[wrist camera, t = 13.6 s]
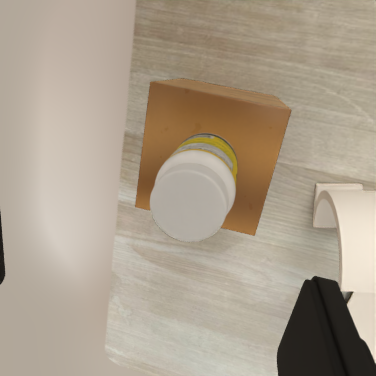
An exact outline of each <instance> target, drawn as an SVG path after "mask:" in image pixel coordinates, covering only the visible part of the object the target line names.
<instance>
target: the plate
mask: <svg viewBox="0 0 376 376" xmlns="http://www.w3.org/2000/svg"><path fill="white" fill-rule="evenodd" d="M347 307H348V309H349V312H350V314H351V316H352V319H353V321H354V324H355V326H356V328H357V331H358V333H359V336H360V338H362V339H363V340H364V341H365V342H366V344H367V345H368V347H369V349H370V352H371V354H372V356H373V359H374V361H375V363H376V293H366V292H352V294H351V296H350V298H349V300H348V302H347Z"/></svg>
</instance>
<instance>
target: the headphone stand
mask: <svg viewBox="0 0 376 376" xmlns="http://www.w3.org/2000/svg"><path fill="white" fill-rule="evenodd" d="M313 226H314V227H325V228H337V234H338V244H339V281H338V285H339V287H340V290H341V291H349V292H366V293H376V191H363V186H362V185H361V184H320V183H316V187H315V199H314V212H313Z"/></svg>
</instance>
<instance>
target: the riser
mask: <svg viewBox="0 0 376 376" xmlns="http://www.w3.org/2000/svg"><path fill="white" fill-rule="evenodd" d="M290 113H291V109H290V108H289V107H288V106H286V105H285V104H284V103H283V102H282V101H281V100H280V99H279V98H277V97H276V96H272V95H267V94H262V93H257V92H251V91H246V90H241V89H236V88H231V87H226V86H220V85H215V84H210V83H205V82H200V81H195V80H189V79H184V78H181V79H172V80H163V81H154V82H150V88H149V96H148V105H147V113H146V121H145V129H144V138H143V146H142V154H141V162H140V171H139V179H138V187H137V195H136V204H135V207H137V208H142V209H146V210H150V196H151V192H152V190H153V188H154V186H155V180H156V177H157V174H158V172H159V170H160V168H161V167H162V165H163V164H164V163H165V161H166V160H167V159H168V158H169V157H170V156H171V155H172V154H173V153H174V151H175V150H176V149H177V148H178V147H179V146H180V144H181V143H182V142H183V141H185V140H186V139H187V138H189V137H190V136H193V135H195V134H199V133H211V134H215V135H218V136H220V137H222V138H224V139H225V140H226V141H227V142H228V143H229V144H230V145H231V146H232V147H233V149H234V151H235V153H236V156H237V162H238V168H237V182H236V194H235V200H234V203H233V205H232V208H231V209H230V211H229V213H228V214H227V215H226V218H225V220H224V222H223V225H222V226H221V228H225V229H229V230H233V231H237V232H241V233H245V234H250V235H255V233H256V229H257V226H258V223H259V219H260V216H261V212H262V209H263V206H264V202H265V199H266V195H267V192H268V188H269V185H270V182H271V178H272V175H273V171H274V168H275V165H276V161H277V158H278V154H279V151H280V148H281V144H282V141H283V137H284V134H285V130H286V127H287V124H288V120H289V117H290ZM150 211H151V210H150Z"/></svg>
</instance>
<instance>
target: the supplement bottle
mask: <svg viewBox="0 0 376 376" xmlns="http://www.w3.org/2000/svg"><path fill="white" fill-rule="evenodd" d="M237 168H238V162H237V156H236V153H235V151H234V149H233V147H232V146H231V145H230V144H229V143H228V142H227V141H226V140H225V139H224V138H222V137H220V136H218V135H215V134H211V133H199V134H195V135H193V136H190V137H189V138H187V139H186V140H185V141H183V142H182V143H181V144H180V146H179V147H178V148H177V149H176V150H175V151H174V153H173V154H172V155H171V156H170V157H169V158H168V159H167V160H166V161H165V163H164V164H163V165H162V167H161V168H160V170H159V172H158V174H157V177H156V180H155V186H154V188H153V190H152V192H151V196H150V210H151V214H152V217H153V219H154V221H155V223H156V224H157V226H158V227H159V228H160V229H161V230H162V231H163V232H164V233H165V234H167V235H168V236H170V237H172V238H174V239H176V240H179V241H183V242H198V241H202V240H205V239H207V238H209V237H211V236H212V235H214V234H215V233H216V232H217V231H218V230H219V229H220V228H221V226H222V225H223V222H224V220H225V218H226V215H227V214H228V213H229V211H230V209H231V208H232V205H233V203H234V200H235V194H236V182H237Z"/></svg>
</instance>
